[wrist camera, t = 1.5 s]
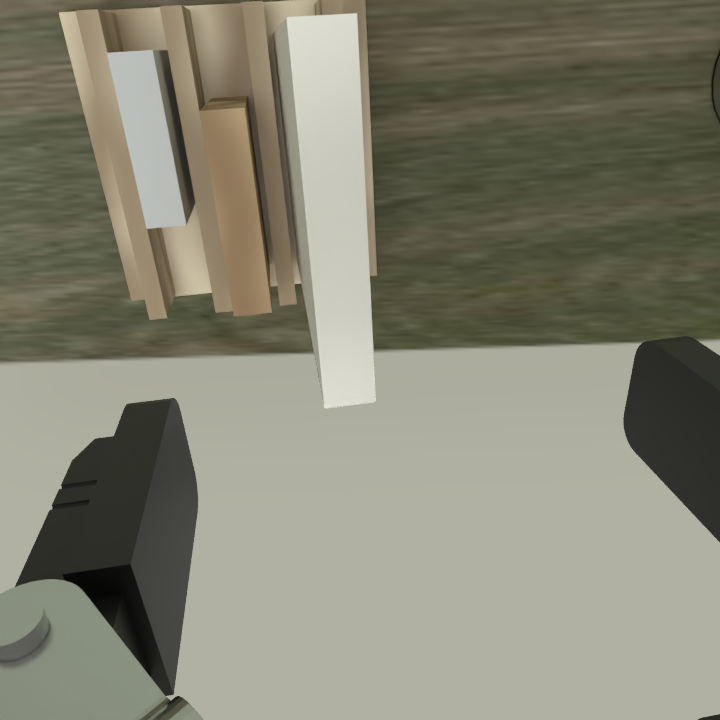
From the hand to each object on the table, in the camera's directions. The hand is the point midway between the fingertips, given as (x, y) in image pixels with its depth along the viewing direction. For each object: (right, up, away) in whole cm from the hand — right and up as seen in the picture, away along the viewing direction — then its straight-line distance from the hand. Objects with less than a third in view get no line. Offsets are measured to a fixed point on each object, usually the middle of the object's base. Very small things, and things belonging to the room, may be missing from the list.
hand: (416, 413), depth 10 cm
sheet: (-4, +13, +25) cm, 29 cm away
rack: (-8, +13, +26) cm, 30 cm away
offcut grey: (-12, +14, +23) cm, 30 cm away
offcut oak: (-8, +11, +25) cm, 29 cm away
